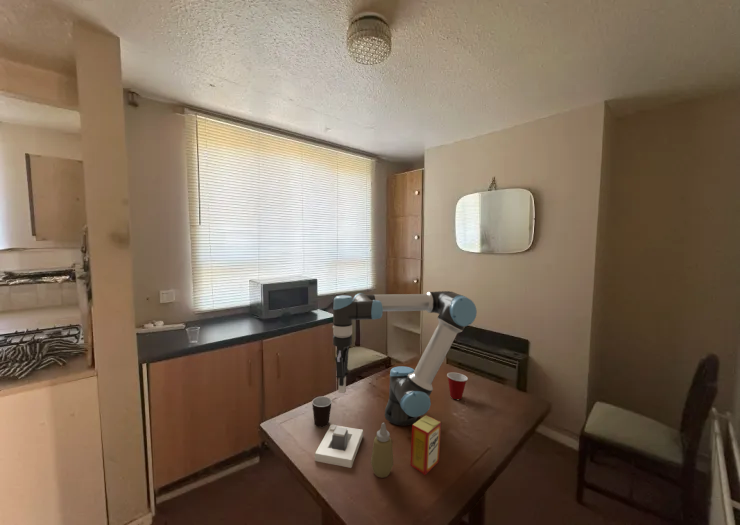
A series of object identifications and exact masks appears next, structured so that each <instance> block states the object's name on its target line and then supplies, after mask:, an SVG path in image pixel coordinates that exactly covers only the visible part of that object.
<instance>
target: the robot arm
mask: <svg viewBox="0 0 740 525" xmlns="http://www.w3.org/2000/svg"><path fill="white" fill-rule="evenodd" d="M332 311H333V312H332V315H333V316H332V319H333V321H332V322H333V324H332V327H331V328H332V330H333V335H332V344H333V345H334V347H336V348H337V350H336V353H335V354H336V356H335V357H334V361H335V368H336V369H335V370H336V379H338V384H337V385H338V386H337V387H338V389H337V390H338V393H339V394H346V392H347V376H348V375H349V373H348V363H349V351H350V347H351V346H352V344H353V321H358V320H359V321H360V320H364V321H366V320H368V321H369V320H377V319H378V320H380V319H382V317H383V313H384V312H413V311H416V312H417V311H418V312H420V311H421V312H422V311H426V312H427V313H428V314H429V313H430V314H431V313H433V314H438V316H437V321H438V324H437V326H436V328H435V329H434V331H433V333H432V336H431V338H430V339H429V341H428V343H427V345H426V346H425V349H424V351H423V353H422V355H421V357H420V359H419V361H418V362H417V365H416V367H415V369H414V368H412V367H409V366H402V365H400V366H399V365H398V366H395V367H392V368H391V369H390V372H389V373H390V374H389V390H388V391H389V392H388V395H389V396H388V401H387V404H386V406H385V409H384V417H385V419H386V420H387V421H388V422H389V423H391V424H393V425H395V426H410V425H413V424H414V423H416V422H417V421H418V418H419V417H422V416H425V415H426V414H427V413H428V411H429V410H430V408H431V405H432V404H431V398H430V396H431V394H432V392H433V390H434V388H433V384H432V383H433V382H434V380H435V377H436V376H437V373H438V371H439V370H440V368H441V366H442V364H443V362H444V360H445V358H446V357H447V354H448V352H449V350H450V349H451V347H452V345H453V342H454V340H455V338H456V337H457V335H458V334H459V333H461V332H463V331H464V329H465V327H468V326H470V325H472V324H473V323H474V321H475V319H476V318H477V307H476V304H475V303H474V301H473V300H472V299H470V298H469V297H467V296H465V295H462V294H459V293H456V292H454V291H450V290H449V291H448V290H447V291H446V290H442V291H440V290H439V291H427V292H426V293H411V294H410V293H409V294H407V293H405V294H404V293H402V294H401V293H400V294H399V293H398V294H397V293H396V294H365V293H363V292H359V293H357V294H355V295H354V296H353V297H352V296H351V295H342V294H341V295H336V296H335V297H334V299H333V307H332Z"/></svg>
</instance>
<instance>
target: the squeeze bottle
mask: <svg viewBox="0 0 740 525" xmlns="http://www.w3.org/2000/svg"><path fill="white" fill-rule="evenodd" d="M386 426H387V425H386V423H385V422H382V423H381V426H380V429H379V430H377V431H376V436H375V437H374V438H373V442H372V444H373V445H372V450H371V451H372V454H371V459H370V464H371V467H372V471H373V473H374V475H375V476H376V477H378V478H383V479H384V478H387V477H388V476H389V475H390V474H391V471H392V469H393V466H394V453H393V452H394V450H393V440H392V437H390V436H391V435H390V431H388V430H387V427H386Z"/></svg>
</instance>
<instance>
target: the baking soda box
mask: <svg viewBox="0 0 740 525" xmlns="http://www.w3.org/2000/svg"><path fill="white" fill-rule="evenodd" d="M411 426H412V427H411V441H410V442H411V443H410V465H409V466H410V467H412V468H414V469H416V470H417V471H418V472H420V473H421V474H423V475H424V476H426V475H427V474H428V473H429V472H430V471H431V470H432V469H434V467H435V466H436V465H437V464H438V463H439V462H440V455H441V454H440V453H441V452H440V451H441V450H440V449H441V437H442V436H441V432H442V421H440V420H438V419H437V418H434V417H432V416H430V415H428V414H424V415H423V417H422V416H421V418H420V419H417V420H416V421H415V422H414V423H413V424H411Z"/></svg>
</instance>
